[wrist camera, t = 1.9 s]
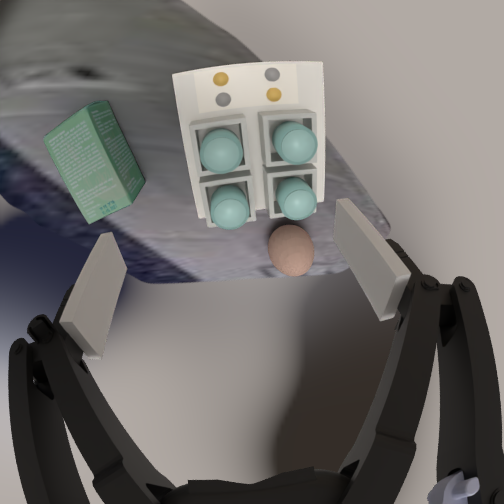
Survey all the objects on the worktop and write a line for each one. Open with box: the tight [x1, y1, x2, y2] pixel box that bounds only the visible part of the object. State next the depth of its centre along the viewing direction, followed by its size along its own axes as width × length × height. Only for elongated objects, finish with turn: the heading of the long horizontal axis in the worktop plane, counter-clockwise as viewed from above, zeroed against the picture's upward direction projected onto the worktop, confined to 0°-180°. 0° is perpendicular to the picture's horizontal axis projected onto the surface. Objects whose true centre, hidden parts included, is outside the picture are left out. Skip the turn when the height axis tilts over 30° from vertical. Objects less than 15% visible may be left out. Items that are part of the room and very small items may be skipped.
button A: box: [200, 128, 243, 174], centre depth 27 cm, size 4×4×3 cm
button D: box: [275, 177, 317, 220], centre depth 32 cm, size 4×4×3 cm
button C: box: [272, 121, 318, 165], centre depth 28 cm, size 4×4×3 cm
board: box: [172, 61, 325, 228], centre depth 31 cm, size 20×18×6 cm
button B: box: [211, 185, 249, 230], centre depth 32 cm, size 4×4×3 cm
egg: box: [268, 225, 314, 276], centre depth 40 cm, size 7×7×9 cm
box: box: [44, 101, 145, 224], centre depth 28 cm, size 7×14×8 cm, turn 17°
